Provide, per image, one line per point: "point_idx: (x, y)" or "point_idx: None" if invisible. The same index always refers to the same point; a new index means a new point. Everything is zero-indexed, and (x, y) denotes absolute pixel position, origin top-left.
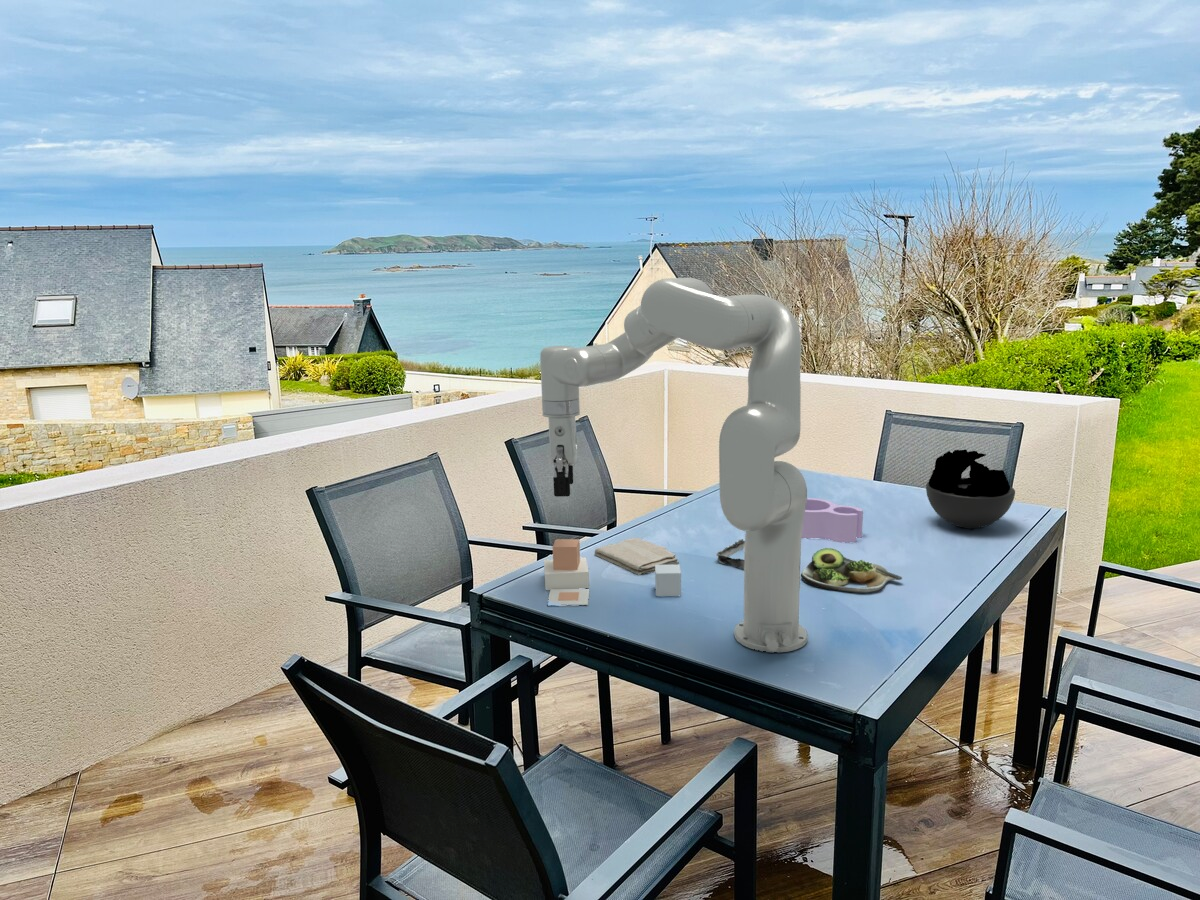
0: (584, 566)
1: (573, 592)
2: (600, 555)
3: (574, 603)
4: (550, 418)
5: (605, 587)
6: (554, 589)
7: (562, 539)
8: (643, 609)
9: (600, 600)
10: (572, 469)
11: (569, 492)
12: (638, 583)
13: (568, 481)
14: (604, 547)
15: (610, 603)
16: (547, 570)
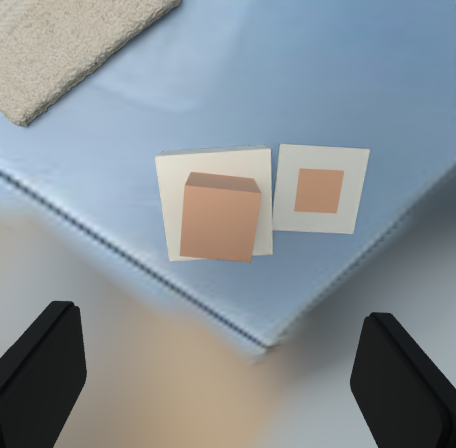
0: (229, 159)
1: (299, 181)
2: (40, 109)
3: (360, 178)
4: None
5: (262, 103)
6: (272, 222)
7: (183, 237)
8: (418, 9)
9: (341, 118)
10: (6, 379)
11: (398, 325)
12: (245, 7)
13: (450, 392)
14: (12, 96)
15: (363, 94)
16: None
